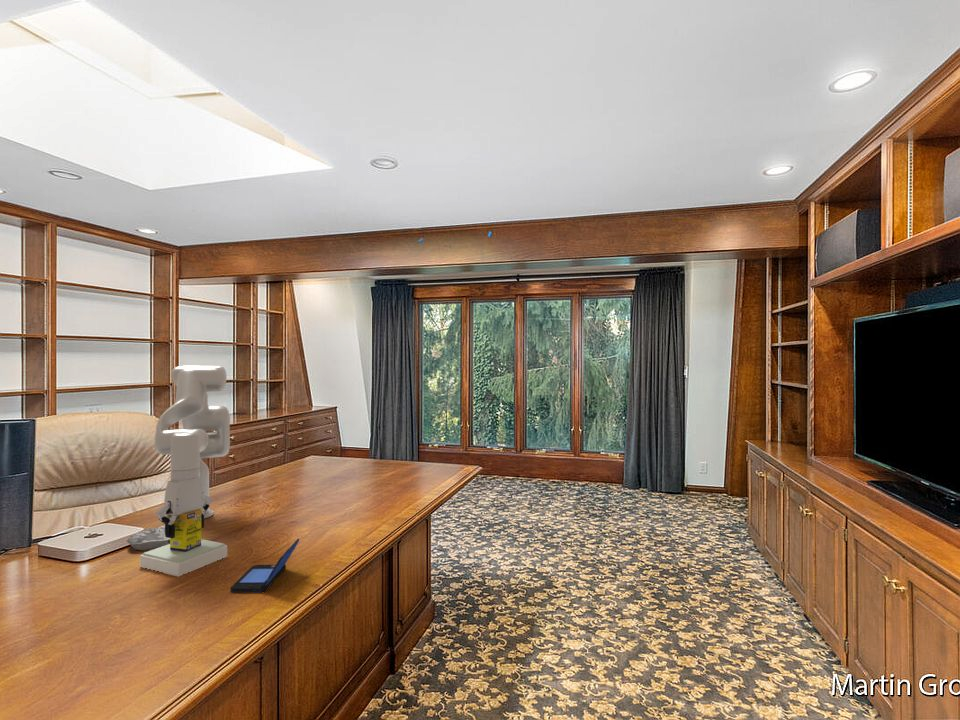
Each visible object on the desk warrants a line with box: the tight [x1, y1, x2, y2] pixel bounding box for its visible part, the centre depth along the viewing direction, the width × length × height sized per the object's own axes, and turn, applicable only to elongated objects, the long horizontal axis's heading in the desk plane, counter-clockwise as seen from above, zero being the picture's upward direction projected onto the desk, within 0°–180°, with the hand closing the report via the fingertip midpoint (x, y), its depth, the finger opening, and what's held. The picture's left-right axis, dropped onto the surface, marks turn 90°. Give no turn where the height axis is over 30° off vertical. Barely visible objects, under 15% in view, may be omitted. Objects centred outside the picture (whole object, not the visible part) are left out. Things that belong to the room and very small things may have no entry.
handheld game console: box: [230, 538, 300, 593], centre depth 141 cm, size 16×13×9 cm
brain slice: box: [127, 524, 170, 551], centre depth 171 cm, size 20×17×3 cm
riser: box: [139, 538, 228, 578], centre depth 153 cm, size 16×16×4 cm
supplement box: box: [170, 509, 202, 552], centre depth 154 cm, size 6×6×11 cm
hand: (185, 532), depth 153 cm, fingers open, 9 cm apart
